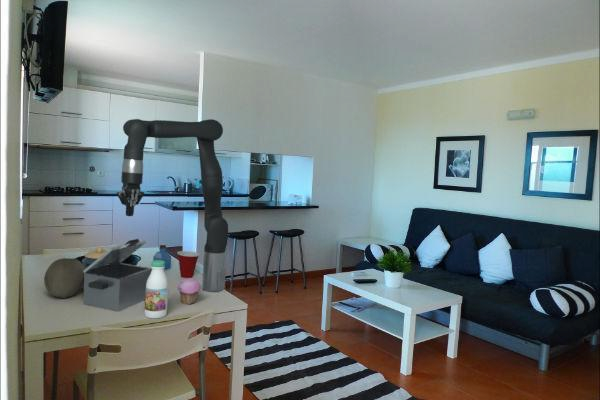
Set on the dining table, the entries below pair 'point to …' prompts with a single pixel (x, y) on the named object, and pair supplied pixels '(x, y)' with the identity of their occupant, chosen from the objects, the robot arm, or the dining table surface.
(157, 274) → the milk bottle
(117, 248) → the box lid
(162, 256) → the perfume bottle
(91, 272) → the grey storage box
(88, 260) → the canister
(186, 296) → the cupcake
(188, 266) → the plastic cup
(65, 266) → the cantaloupe
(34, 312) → the dining table surface
